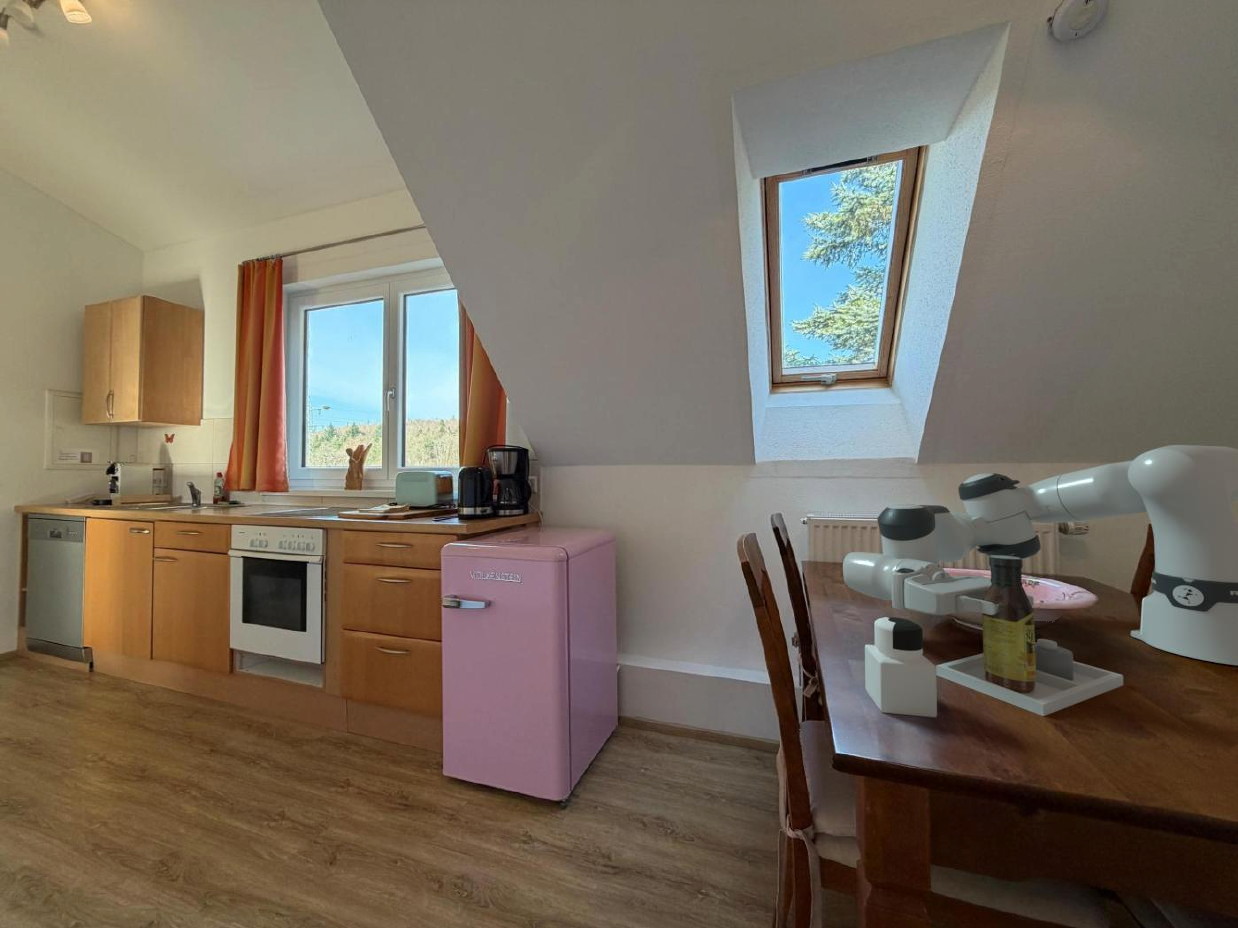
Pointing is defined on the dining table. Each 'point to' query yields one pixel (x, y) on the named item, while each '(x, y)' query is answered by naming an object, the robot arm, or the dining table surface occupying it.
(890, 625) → the medicine bottle
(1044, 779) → the dining table surface
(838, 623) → the dining table surface
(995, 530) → the robot arm
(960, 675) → the white rectangular tray
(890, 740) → the dining table surface
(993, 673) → the sauce bottle
